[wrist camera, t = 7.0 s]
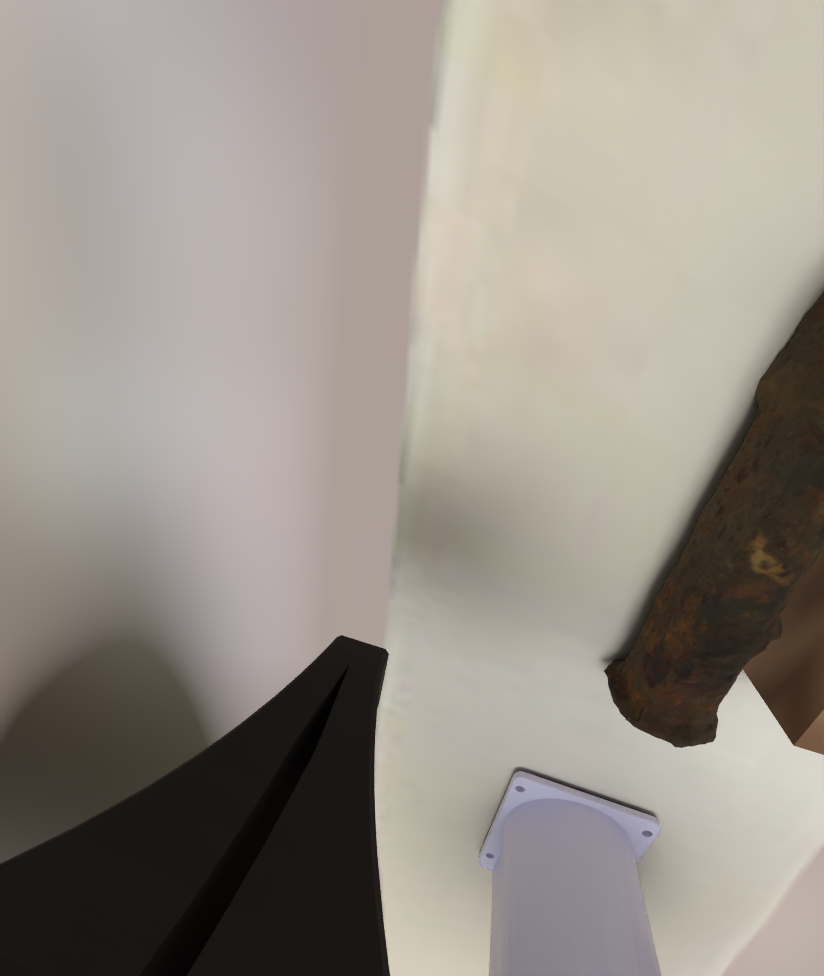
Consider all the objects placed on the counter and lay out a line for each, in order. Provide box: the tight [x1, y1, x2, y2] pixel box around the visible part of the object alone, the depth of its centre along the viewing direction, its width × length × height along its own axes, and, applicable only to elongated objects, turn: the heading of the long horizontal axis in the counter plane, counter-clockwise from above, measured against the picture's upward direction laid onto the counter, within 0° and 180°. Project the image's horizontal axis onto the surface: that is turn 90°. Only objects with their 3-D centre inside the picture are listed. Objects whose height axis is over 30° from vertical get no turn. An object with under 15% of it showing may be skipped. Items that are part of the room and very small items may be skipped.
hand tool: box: [604, 293, 824, 748], centre depth 14 cm, size 19×4×5 cm, turn 168°
